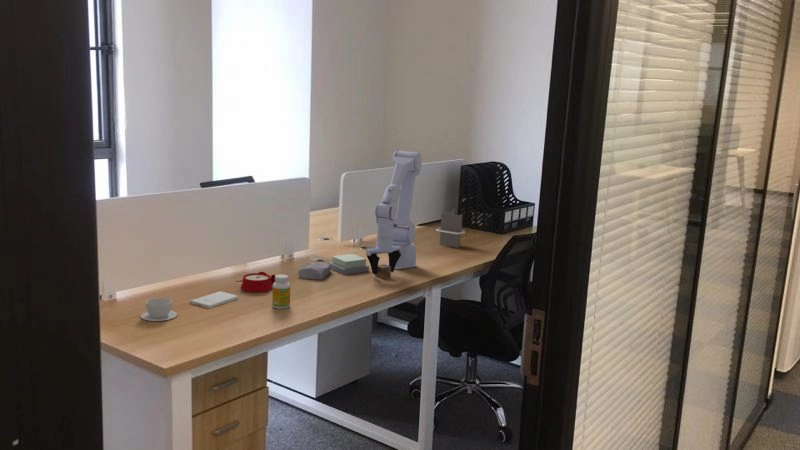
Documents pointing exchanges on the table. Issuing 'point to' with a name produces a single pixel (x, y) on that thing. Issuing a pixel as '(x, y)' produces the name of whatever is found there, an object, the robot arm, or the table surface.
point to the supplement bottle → (281, 292)
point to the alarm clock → (257, 282)
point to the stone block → (315, 271)
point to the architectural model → (450, 230)
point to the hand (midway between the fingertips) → (383, 272)
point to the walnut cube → (383, 271)
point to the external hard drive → (214, 299)
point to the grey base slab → (348, 269)
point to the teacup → (158, 310)
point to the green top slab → (349, 260)
